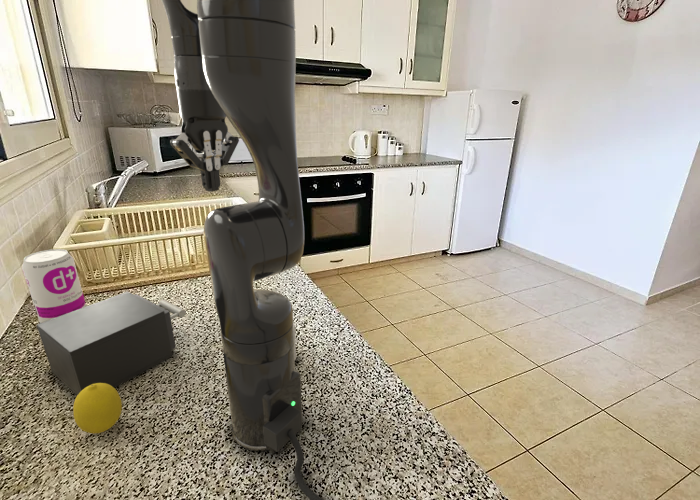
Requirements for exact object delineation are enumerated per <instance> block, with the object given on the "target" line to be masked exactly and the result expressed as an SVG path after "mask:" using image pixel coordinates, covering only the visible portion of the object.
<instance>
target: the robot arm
mask: <svg viewBox="0 0 700 500" xmlns="http://www.w3.org/2000/svg"><path fill="white" fill-rule="evenodd" d="M161 3H162V5H163V10H164V11H165V15H166V18H167V23H168V27H169V31H170V38H171V39H170V40H171V45H172V53H173V67H174V68H173V72H174V73H173V74H174V81H175V82H174V83H175V87H176V95H177V103H178V110H179V116H180V117H181V121H182V123H181V126H180V132H181V133H180V134H178V136H177V137H176V138H171V139H170V140H169V144H170V146H171V147H172V148H173V149H174V150H175V151H176V153H177V154H178V155H179V156H180V157H181V158H182V160H184V161H185V163H186V164H187V165H188V166H189V167H190V168H195V169H197V170H199V171H200V175H201V176H200V177H201V184H202V187H203V189H204V190H205V191H206V192H217V191H219V190H220V187H221V178H220V177H221V176H220V169H221V168H222V167H224V166H228V164H229V162H230V160H231V158H232V156H233V154H234V152H235V150H236V149H237V146H238V144H239V142H240V138H241V140H242V142H243V143H244V145H245V148H246V149H247V150H248V152H249V155H250V157H251V160H252V163H253V165H254V169H255V174H256V179H257V186H258V187H257V189H258V200H257V201H252V202H251V201H250V202H246V203H240V204H234V205H229V206H223V207H222V206H221V207H218V208H214V209H212V210H210V211H209V212H208V214H207V215H206V217H205V219H204V223H203V243H204V250H205V255H206V261H207V265H208V266H207V267H208V270H209V277H210V282H211V287H212V294H213V300H214V306H215V309H216V312H217V317H218V321H219V329H220V337H221V345H222V354H223V364H224V371H225V380H226V387H227V394H228V404H229V411H230V418H231V419H230V420H231V433H232V437H233V439H234V441H235V442H236V443H237V444H238V445H239V446H241V447H242V448H244V449H246V450H249V451H254V452H255V451H257V452H263V451H267V452H269V454H275V453H278V452H279V451H280V450H282V448H283V447H285V445H287V444H288V442H290V443H291V444H292V447H293V448H294V450H295V455H296V462H295V465H294V468H293V469H294V471H293V472H294V478H295V481H296V483H297V486H298V487H299V489H300V490H301V492H303V494H304V495H305V496H306V497H307V498H308V499H309V500H324V499H323V498H322V497H320V496H319V495H318V494H316V493H315V492H314V491H313V490H312V489H311V488H310V487H309V486H308V485H307V483H306V482H305V480H304V477H303V474H302V468H303V465H304V460H305V457H304V450H303V447H302V445H301V443H300V441H299V439H298V437H297V433H298V432H300V430H301V429H302V428H303V404H302V377H301V376H302V375H301V373H300V372H299V371H297V370H296V368H295V367H296V363H295V362H296V360H295V359H294V331H293V324H294V309H293V305H292V301H290V299H289V298H288V297H287V296H285V295H284V294H282V293H280V292H278V291H274V290H270V289H261V288H259V289H258V288H254V282H256V281H260V280H263V279H266V278H270V277H272V276H275V275H278V274H281V273H284V272H287V271H289V270H291V269H293V268H295V267H296V266H297V265H298V264H299V263H300V261H301V259H302V257H303V254H304V249H305V221H304V211H303V201H302V191H301V183H300V172H299V163H298V162H299V161H298V148H297V147H298V146H297V145H298V144H297V123H296V122H297V121H296V72H297V71H296V70H297V69H296V67H297V64H296V63H297V57H296V56H297V52H296V51H297V49H296V14H295V13H296V12H295V11H296V10H295V0H196V10H197V11H196V12H197V13H196V12H194V11H191V10H190V9H188V8H187V7H186V6H185V4H184V3H183V2H182V0H161ZM226 118H227V120H228V121H229V122H230V124H231V125H232V126H233V128H234V130H235V131H236V132H237V134H238V135H239V137H240V138H239V137H238V136H234V135H233V134H231V132H229V127H228V125H227V124H226V120H225V119H226ZM191 147H192V148H191Z"/></svg>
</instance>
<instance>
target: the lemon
mask: <svg viewBox="0 0 700 500" xmlns="http://www.w3.org/2000/svg"><path fill="white" fill-rule="evenodd" d="M72 406H73V407H72V410H73V411H72V412H73V413H72V414H73V419H74V422H75V423H76V425H77V427H78V428H79V429H80V430H81V431H83V432H85V433H87V434H88V433H89V434H101V433H105V432H106V431H108V430H109V429H111V428H112V427H113V426H114V425H116V424H117V422H118V421H119V419H120V418H121V414H122V411H123V402H122V399H121V395H120V394H119V392H118V390H117V389H116V387H115V388H114V387H112V386H111V385H109V384H106V383H95V384H91V385H89V386H87V387H86V388H84V389H83V390H82V391H81V392H80V393H79V394H78V395H76V397H75V399H74V401H73V405H72Z"/></svg>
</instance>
